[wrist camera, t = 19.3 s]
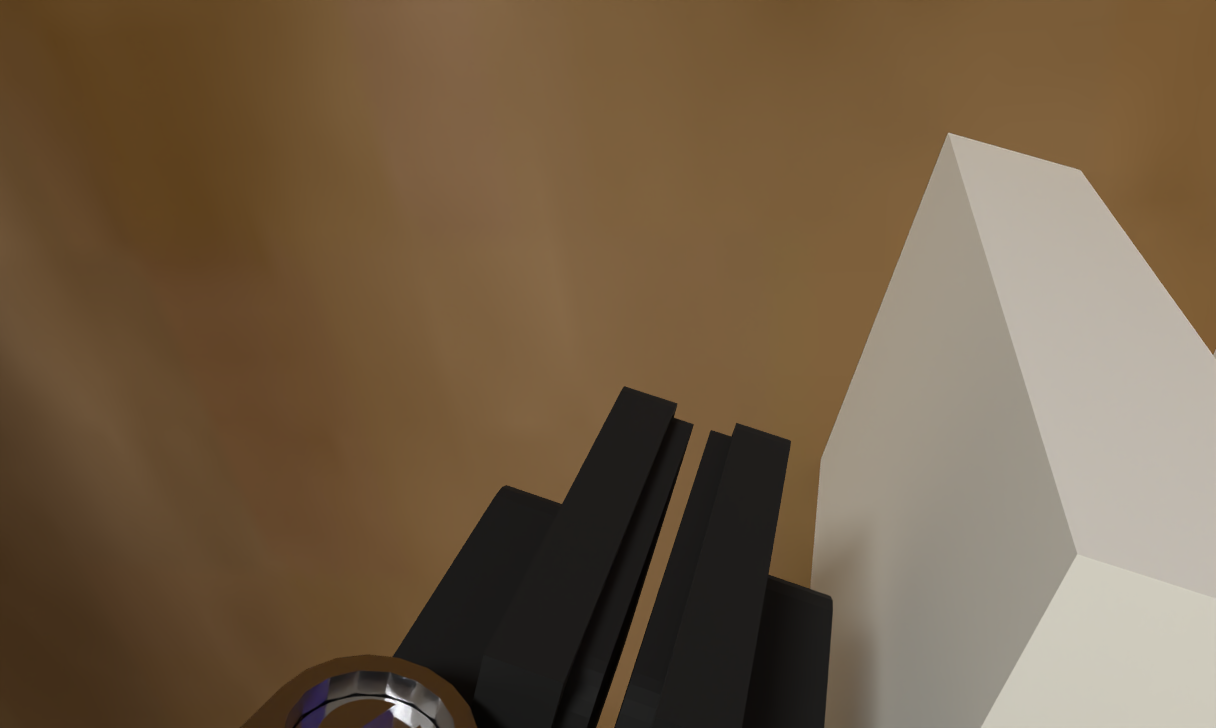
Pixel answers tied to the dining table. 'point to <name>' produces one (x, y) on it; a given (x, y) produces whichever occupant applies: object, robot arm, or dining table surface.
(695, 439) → the dining table surface
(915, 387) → the domino
